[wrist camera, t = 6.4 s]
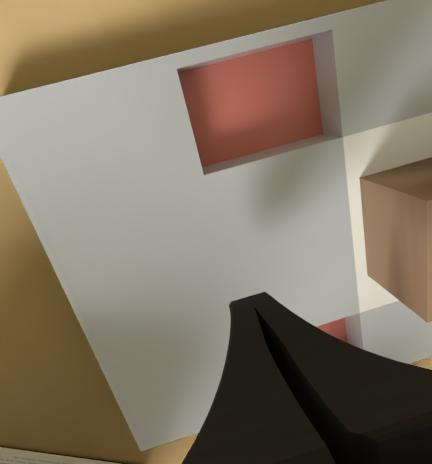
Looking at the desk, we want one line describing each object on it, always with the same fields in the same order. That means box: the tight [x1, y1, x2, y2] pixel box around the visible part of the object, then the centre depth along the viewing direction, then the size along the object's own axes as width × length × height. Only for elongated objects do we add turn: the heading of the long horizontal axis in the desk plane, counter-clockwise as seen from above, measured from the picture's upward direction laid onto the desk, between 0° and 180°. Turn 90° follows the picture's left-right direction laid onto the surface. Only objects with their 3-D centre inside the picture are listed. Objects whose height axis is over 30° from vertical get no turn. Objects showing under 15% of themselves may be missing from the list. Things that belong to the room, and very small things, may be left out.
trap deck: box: [0, 0, 432, 452], centre depth 15 cm, size 20×18×5 cm
